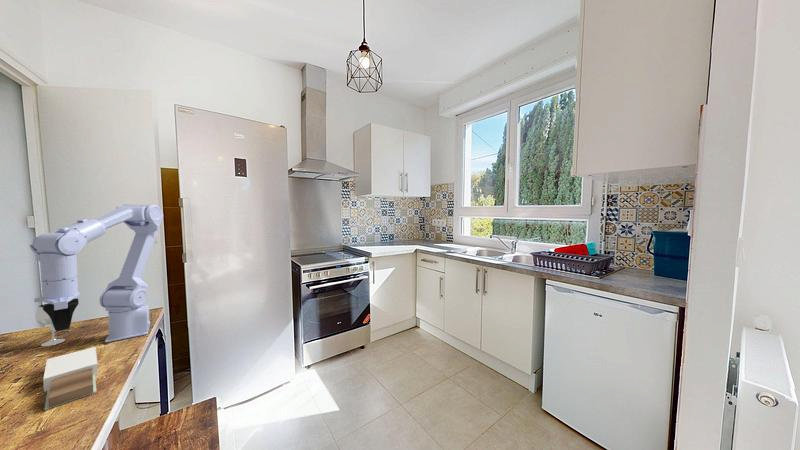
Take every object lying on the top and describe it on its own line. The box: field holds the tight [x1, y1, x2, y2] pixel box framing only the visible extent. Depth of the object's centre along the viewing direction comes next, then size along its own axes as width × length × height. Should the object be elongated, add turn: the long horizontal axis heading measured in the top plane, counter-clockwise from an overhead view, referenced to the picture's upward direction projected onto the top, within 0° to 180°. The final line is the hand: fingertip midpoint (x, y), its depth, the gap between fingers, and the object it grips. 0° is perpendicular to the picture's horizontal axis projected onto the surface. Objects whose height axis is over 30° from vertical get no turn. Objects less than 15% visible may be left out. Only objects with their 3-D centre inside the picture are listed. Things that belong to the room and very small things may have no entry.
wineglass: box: [35, 303, 66, 347], centre depth 79 cm, size 6×6×12 cm
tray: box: [42, 346, 99, 392], centre depth 65 cm, size 12×8×3 cm, turn 51°
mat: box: [43, 375, 97, 411], centre depth 59 cm, size 9×7×1 cm
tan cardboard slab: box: [48, 368, 94, 409], centre depth 59 cm, size 9×6×2 cm, turn 51°
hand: (62, 329), depth 68 cm, fingers closed
